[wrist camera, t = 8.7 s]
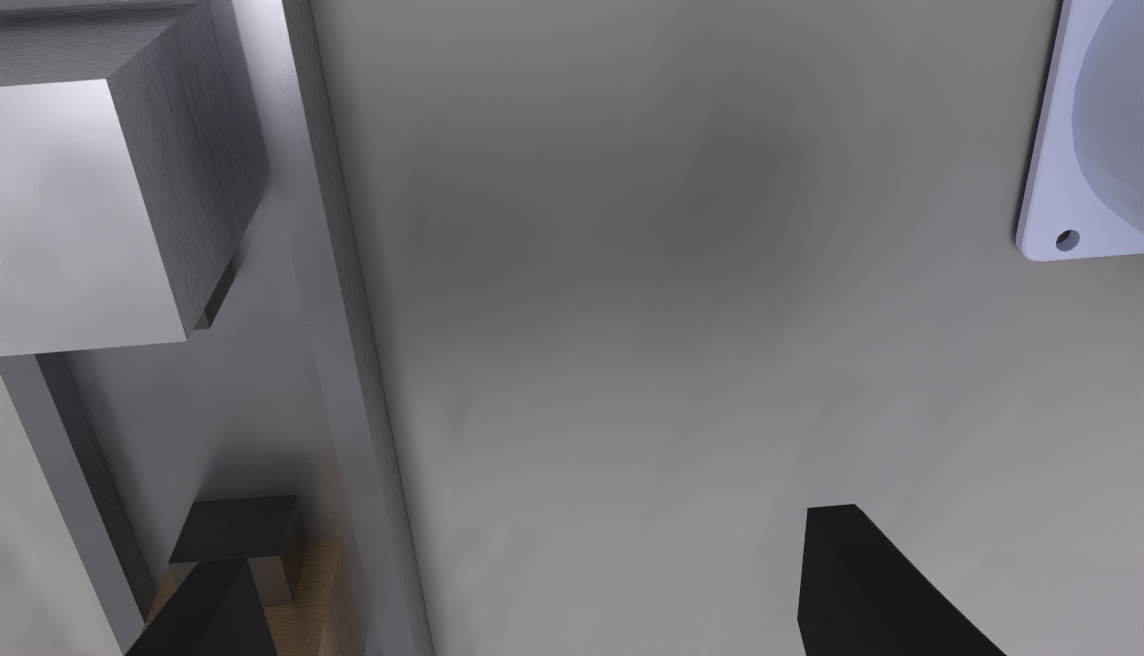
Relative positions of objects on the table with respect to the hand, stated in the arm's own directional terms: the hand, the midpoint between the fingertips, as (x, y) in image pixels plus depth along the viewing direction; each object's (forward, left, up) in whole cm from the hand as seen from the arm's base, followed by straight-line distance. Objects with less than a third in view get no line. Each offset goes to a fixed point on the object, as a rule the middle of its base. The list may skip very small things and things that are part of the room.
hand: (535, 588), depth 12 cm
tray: (+7, +3, -10) cm, 12 cm away
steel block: (+7, -4, -9) cm, 12 cm away
